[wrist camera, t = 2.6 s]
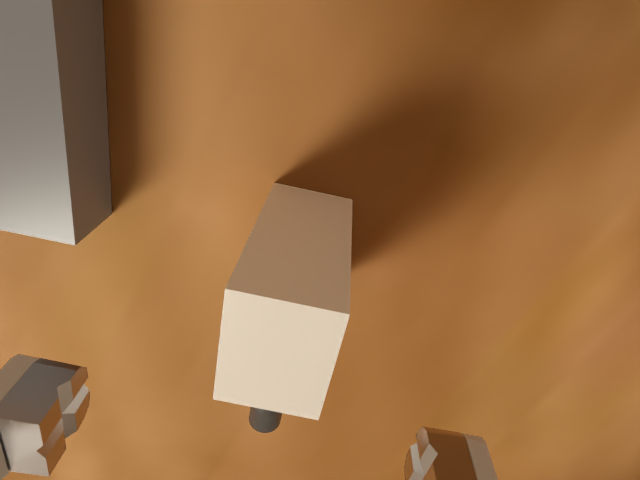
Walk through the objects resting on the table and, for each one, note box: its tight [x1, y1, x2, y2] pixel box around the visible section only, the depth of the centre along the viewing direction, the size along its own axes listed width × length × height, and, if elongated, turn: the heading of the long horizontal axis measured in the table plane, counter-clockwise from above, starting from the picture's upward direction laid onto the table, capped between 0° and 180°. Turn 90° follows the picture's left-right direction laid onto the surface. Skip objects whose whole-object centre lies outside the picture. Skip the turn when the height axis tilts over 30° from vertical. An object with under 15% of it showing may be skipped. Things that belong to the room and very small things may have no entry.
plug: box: [213, 183, 353, 433], centre depth 17 cm, size 7×4×8 cm, turn 169°
